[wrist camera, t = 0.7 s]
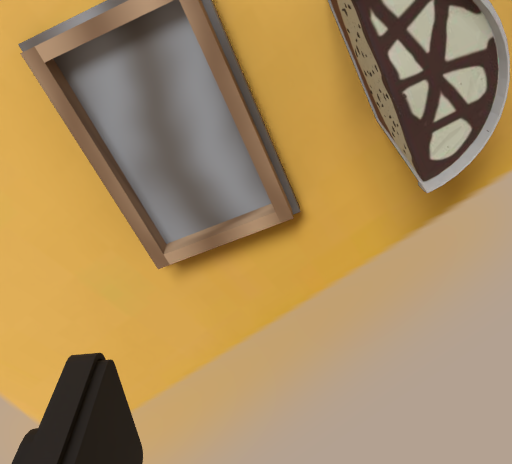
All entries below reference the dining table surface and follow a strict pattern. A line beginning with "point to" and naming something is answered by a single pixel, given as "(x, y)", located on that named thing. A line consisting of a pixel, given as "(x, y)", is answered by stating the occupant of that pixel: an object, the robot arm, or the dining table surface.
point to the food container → (429, 77)
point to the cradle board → (165, 122)
